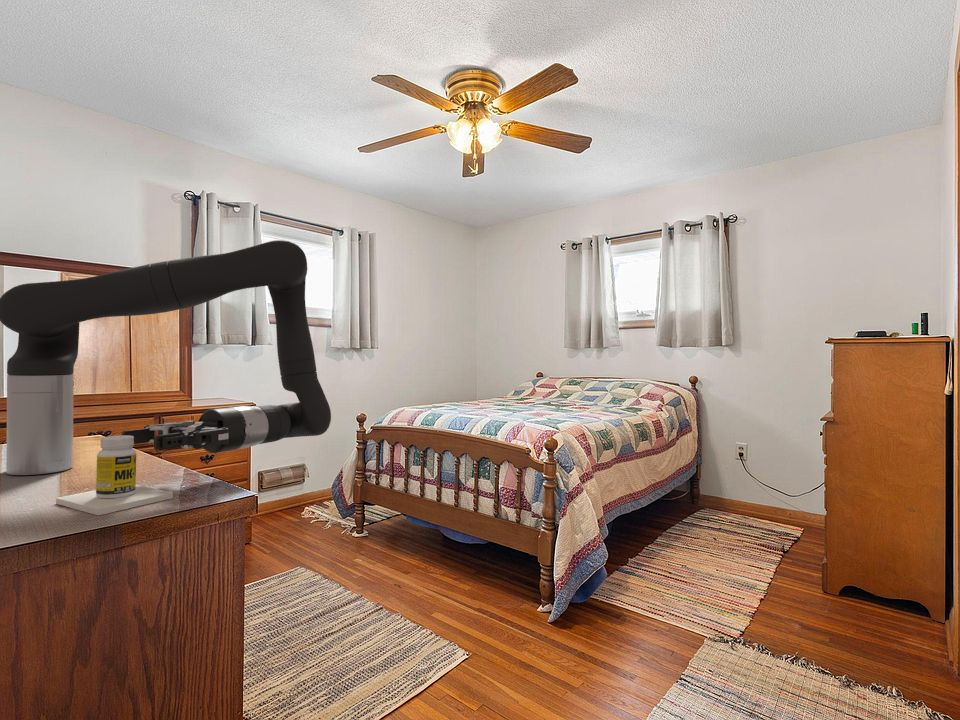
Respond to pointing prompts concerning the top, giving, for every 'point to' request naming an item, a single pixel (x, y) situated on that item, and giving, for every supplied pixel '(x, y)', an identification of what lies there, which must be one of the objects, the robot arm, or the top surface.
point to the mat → (113, 500)
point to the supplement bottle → (116, 467)
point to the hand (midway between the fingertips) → (138, 440)
